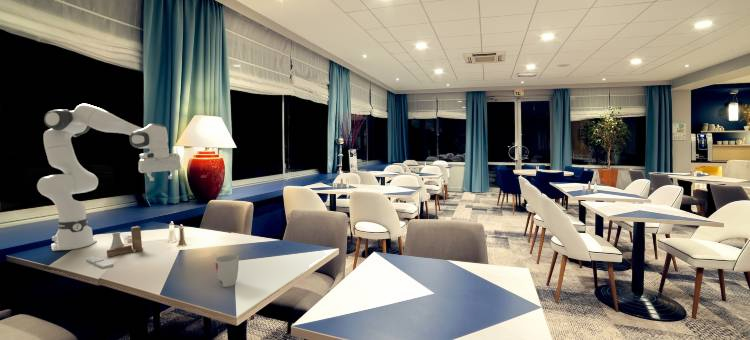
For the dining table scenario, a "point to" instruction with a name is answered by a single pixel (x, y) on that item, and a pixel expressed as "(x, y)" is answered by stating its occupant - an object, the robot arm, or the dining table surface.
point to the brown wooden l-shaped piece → (129, 247)
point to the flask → (116, 241)
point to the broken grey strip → (99, 262)
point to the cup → (227, 269)
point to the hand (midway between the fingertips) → (161, 179)
